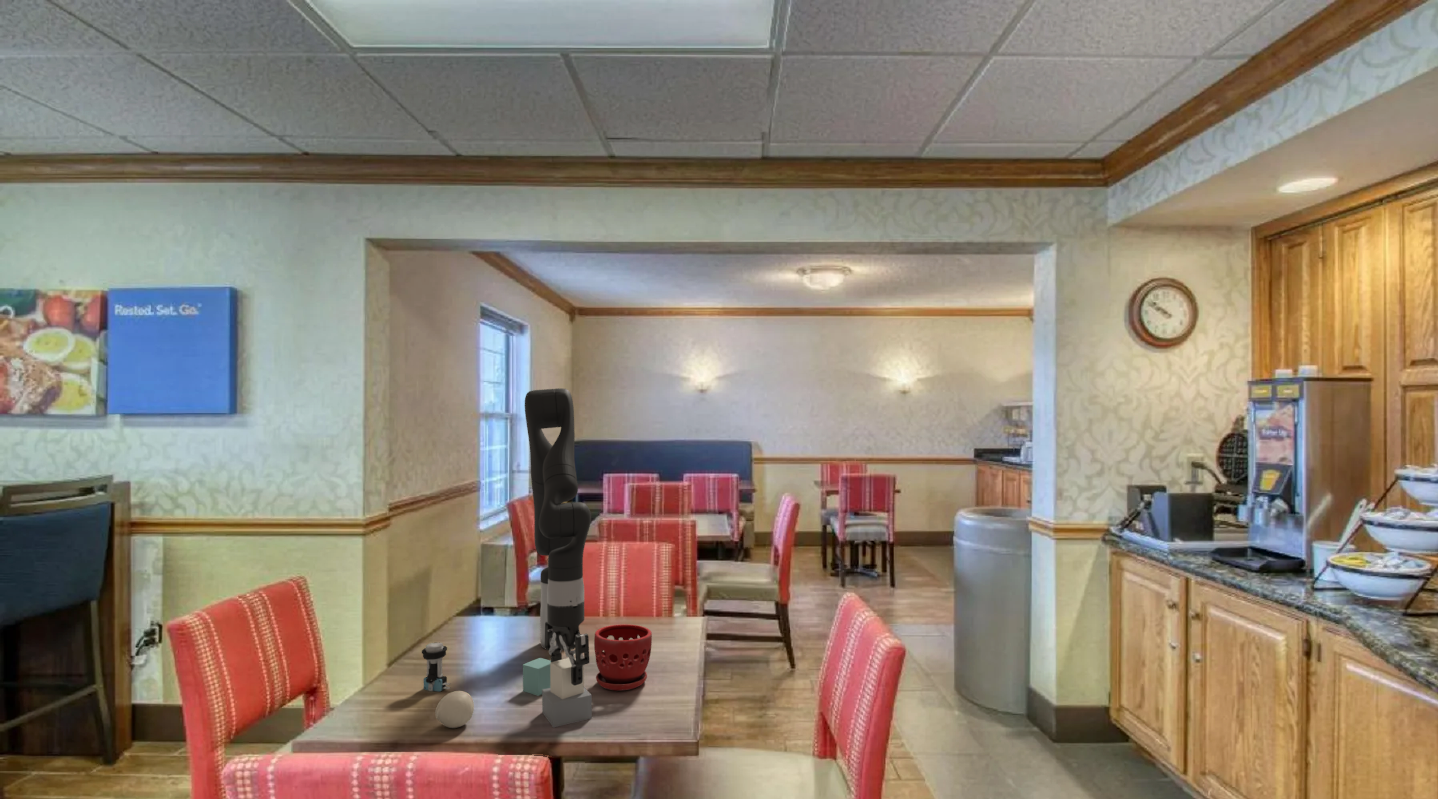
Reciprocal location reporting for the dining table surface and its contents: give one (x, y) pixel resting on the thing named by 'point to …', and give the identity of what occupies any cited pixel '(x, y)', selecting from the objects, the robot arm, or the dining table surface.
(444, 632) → the dining table surface
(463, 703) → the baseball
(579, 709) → the slate base block
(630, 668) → the plant pot
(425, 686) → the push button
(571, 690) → the cream block
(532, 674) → the teal block
